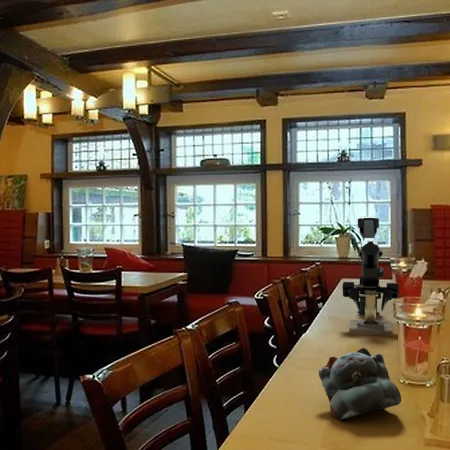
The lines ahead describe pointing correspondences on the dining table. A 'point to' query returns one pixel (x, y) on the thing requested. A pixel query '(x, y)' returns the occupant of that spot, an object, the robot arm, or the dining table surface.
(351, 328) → the walnut eye plate
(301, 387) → the dining table surface
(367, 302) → the tan cylinder
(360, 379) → the lucky cat figurine
